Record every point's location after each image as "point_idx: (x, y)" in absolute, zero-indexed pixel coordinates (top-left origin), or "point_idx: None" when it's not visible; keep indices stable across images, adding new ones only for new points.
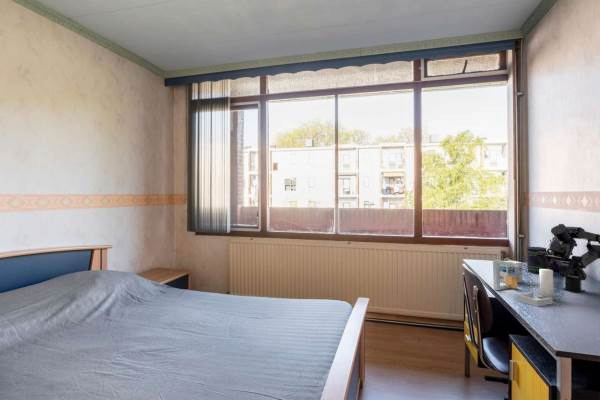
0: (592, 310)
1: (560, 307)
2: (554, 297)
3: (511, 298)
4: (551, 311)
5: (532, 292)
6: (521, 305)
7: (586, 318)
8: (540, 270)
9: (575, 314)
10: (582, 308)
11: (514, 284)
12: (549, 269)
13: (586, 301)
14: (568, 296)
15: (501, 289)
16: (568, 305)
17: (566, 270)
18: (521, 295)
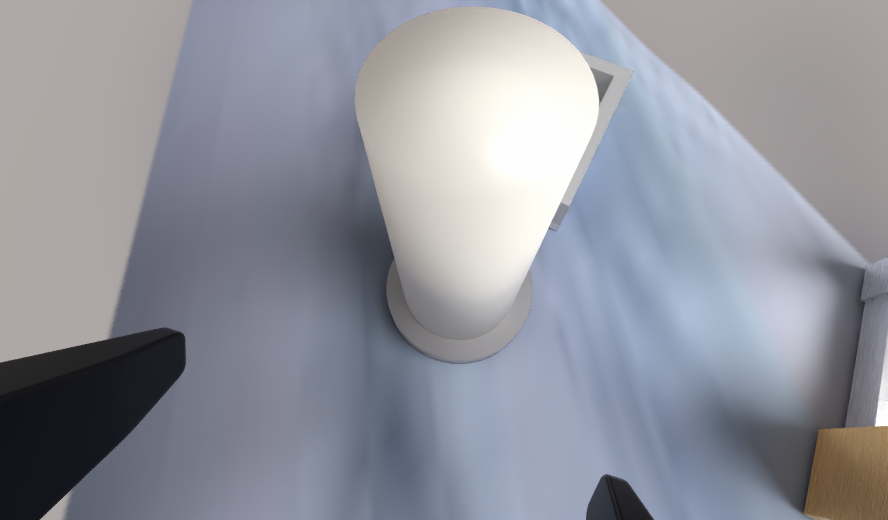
0: (162, 166)
1: (348, 111)
2: (394, 262)
3: (659, 118)
4: (388, 13)
5: (562, 201)
6: (550, 19)
7: (225, 6)
8: (554, 38)
9: (271, 35)
10: (217, 172)
11: (855, 474)
12: (427, 186)
13: (150, 412)
14: (289, 515)
15: (863, 321)
16: (300, 187)
17: (68, 371)
18: (596, 64)
